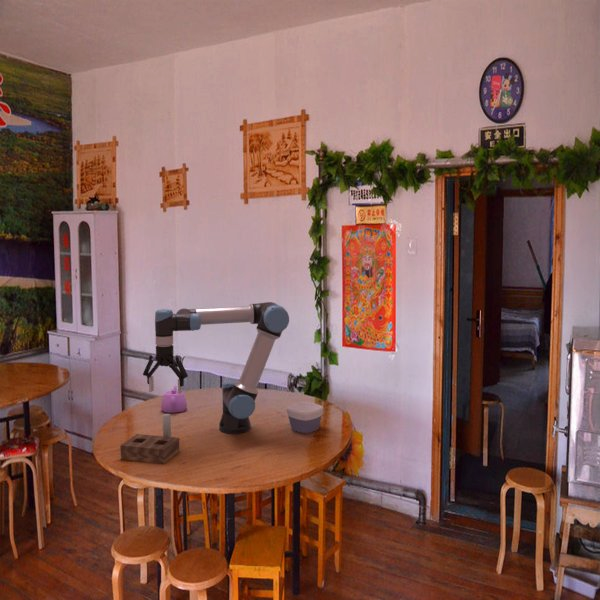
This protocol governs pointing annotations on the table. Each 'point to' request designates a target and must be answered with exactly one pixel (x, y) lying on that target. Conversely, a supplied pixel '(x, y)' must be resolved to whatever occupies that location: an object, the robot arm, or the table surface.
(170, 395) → the teapot
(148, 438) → the block
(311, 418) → the lidded storage container
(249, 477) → the table surface
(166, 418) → the pin
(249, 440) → the table surface
